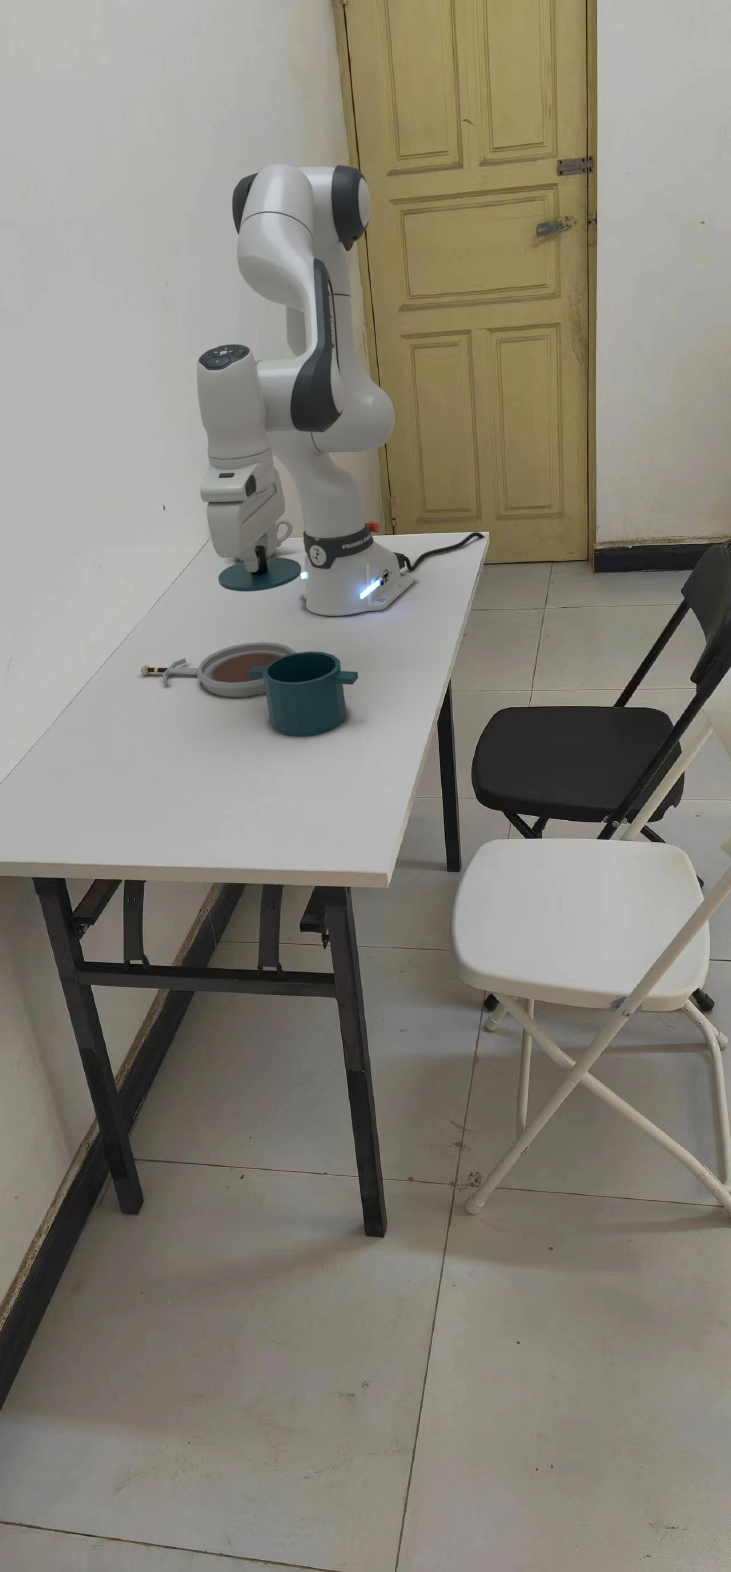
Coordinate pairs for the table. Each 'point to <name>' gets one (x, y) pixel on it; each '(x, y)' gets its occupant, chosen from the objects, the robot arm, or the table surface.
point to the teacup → (273, 540)
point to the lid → (260, 573)
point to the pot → (305, 692)
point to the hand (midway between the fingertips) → (258, 565)
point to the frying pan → (230, 668)
